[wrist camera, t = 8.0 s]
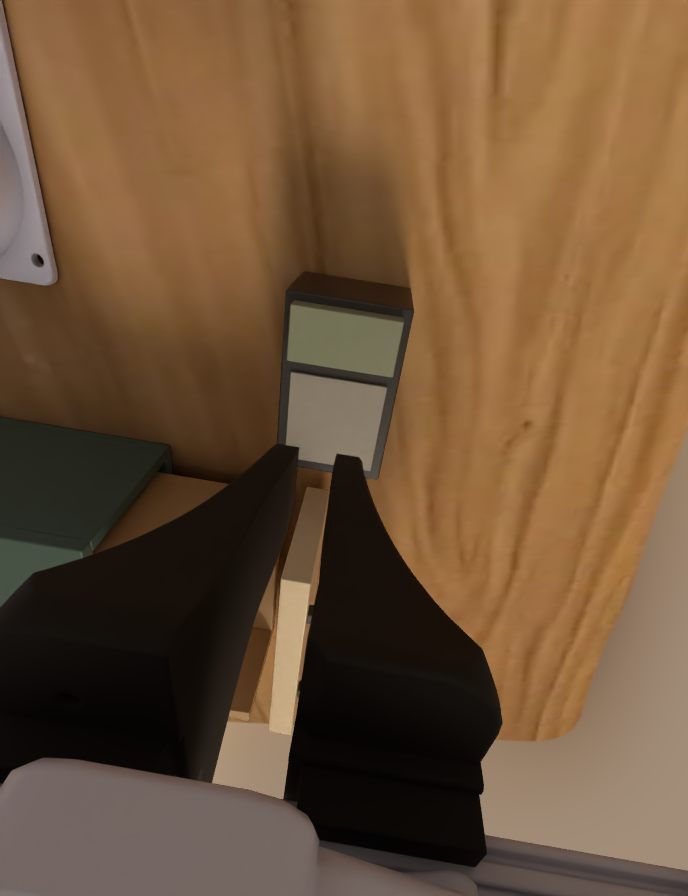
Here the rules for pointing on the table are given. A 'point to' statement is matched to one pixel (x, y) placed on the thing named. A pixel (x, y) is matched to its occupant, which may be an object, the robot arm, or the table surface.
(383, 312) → the dark rectangular block
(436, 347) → the table surface
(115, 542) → the drawer
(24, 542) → the cabinet
